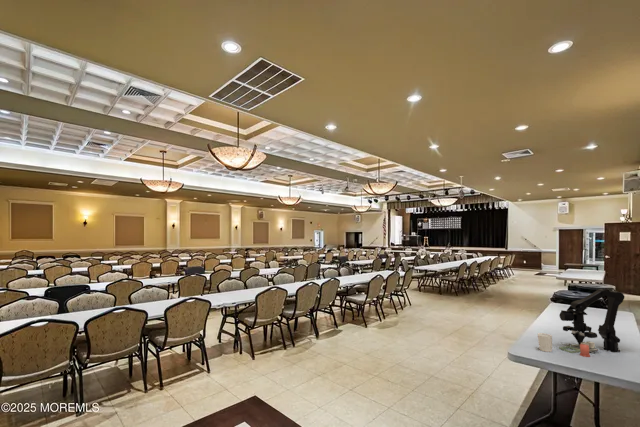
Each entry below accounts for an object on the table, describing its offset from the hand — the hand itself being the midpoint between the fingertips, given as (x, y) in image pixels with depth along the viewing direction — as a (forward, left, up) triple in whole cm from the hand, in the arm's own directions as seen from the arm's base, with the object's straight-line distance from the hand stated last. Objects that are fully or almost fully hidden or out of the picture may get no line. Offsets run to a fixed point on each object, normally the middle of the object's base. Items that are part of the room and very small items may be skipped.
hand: (580, 344), depth 211 cm
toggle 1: (-3, 0, -1) cm, 3 cm away
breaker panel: (0, -2, -3) cm, 4 cm away
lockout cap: (-10, +10, -3) cm, 14 cm away
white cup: (+4, +25, -3) cm, 25 cm away
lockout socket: (0, +8, -3) cm, 9 cm away
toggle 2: (-3, -5, -1) cm, 6 cm away
